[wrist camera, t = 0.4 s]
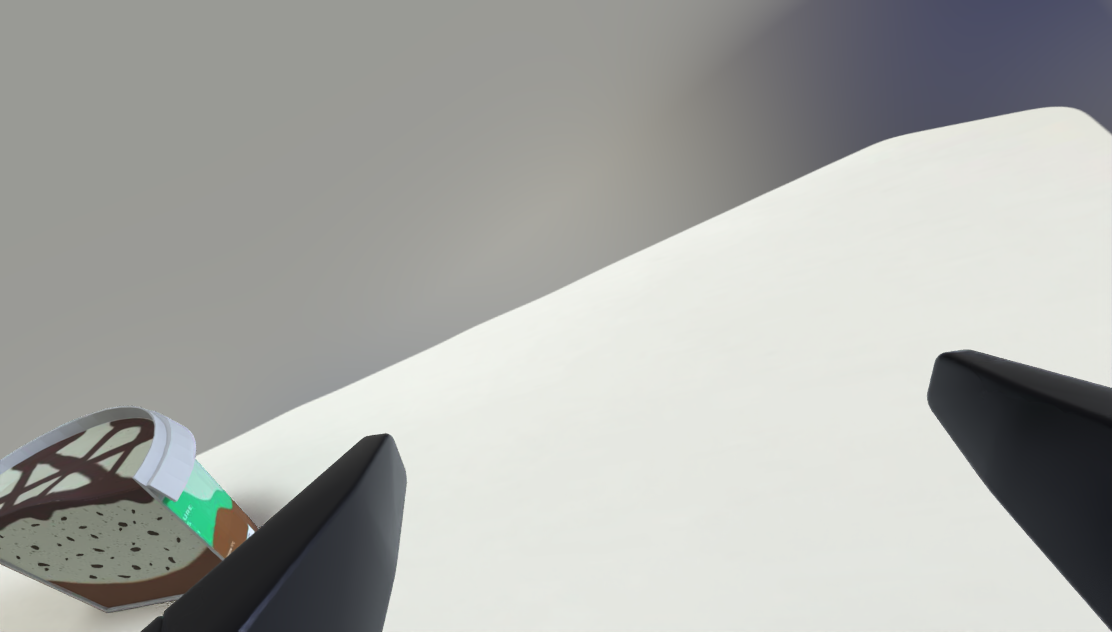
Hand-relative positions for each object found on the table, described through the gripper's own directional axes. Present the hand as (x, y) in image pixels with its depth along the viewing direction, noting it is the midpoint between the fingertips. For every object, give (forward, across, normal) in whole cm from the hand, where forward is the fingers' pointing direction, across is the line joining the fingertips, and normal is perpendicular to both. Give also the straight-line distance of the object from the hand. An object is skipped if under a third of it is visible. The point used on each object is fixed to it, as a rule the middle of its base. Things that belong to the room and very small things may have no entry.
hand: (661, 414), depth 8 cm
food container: (+15, +25, +18) cm, 35 cm away
